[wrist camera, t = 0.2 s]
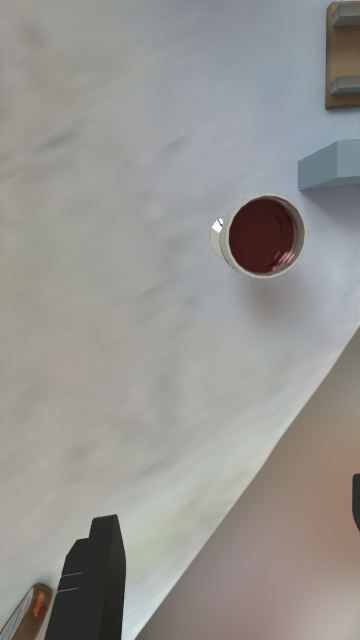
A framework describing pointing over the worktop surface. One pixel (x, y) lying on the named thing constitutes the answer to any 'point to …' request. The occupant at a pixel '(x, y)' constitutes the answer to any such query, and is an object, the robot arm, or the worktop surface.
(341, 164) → the door panel
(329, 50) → the door track
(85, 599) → the robot arm
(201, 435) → the worktop surface
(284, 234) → the wineglass
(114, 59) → the worktop surface
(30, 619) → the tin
